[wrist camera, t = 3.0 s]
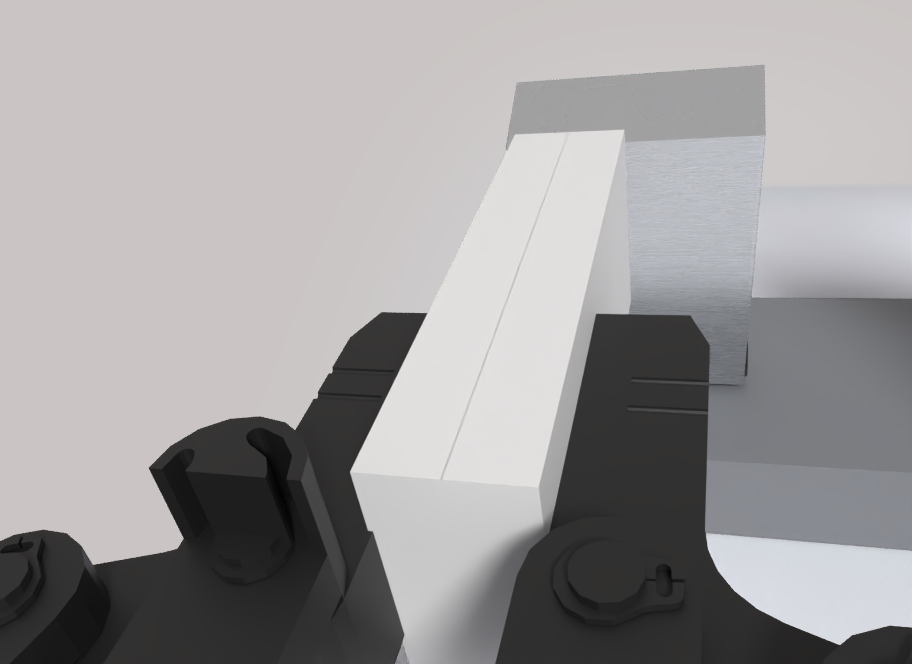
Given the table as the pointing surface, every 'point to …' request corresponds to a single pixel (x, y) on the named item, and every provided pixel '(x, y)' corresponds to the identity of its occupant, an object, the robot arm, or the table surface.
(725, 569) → the table surface
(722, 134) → the lever
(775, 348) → the switch base
